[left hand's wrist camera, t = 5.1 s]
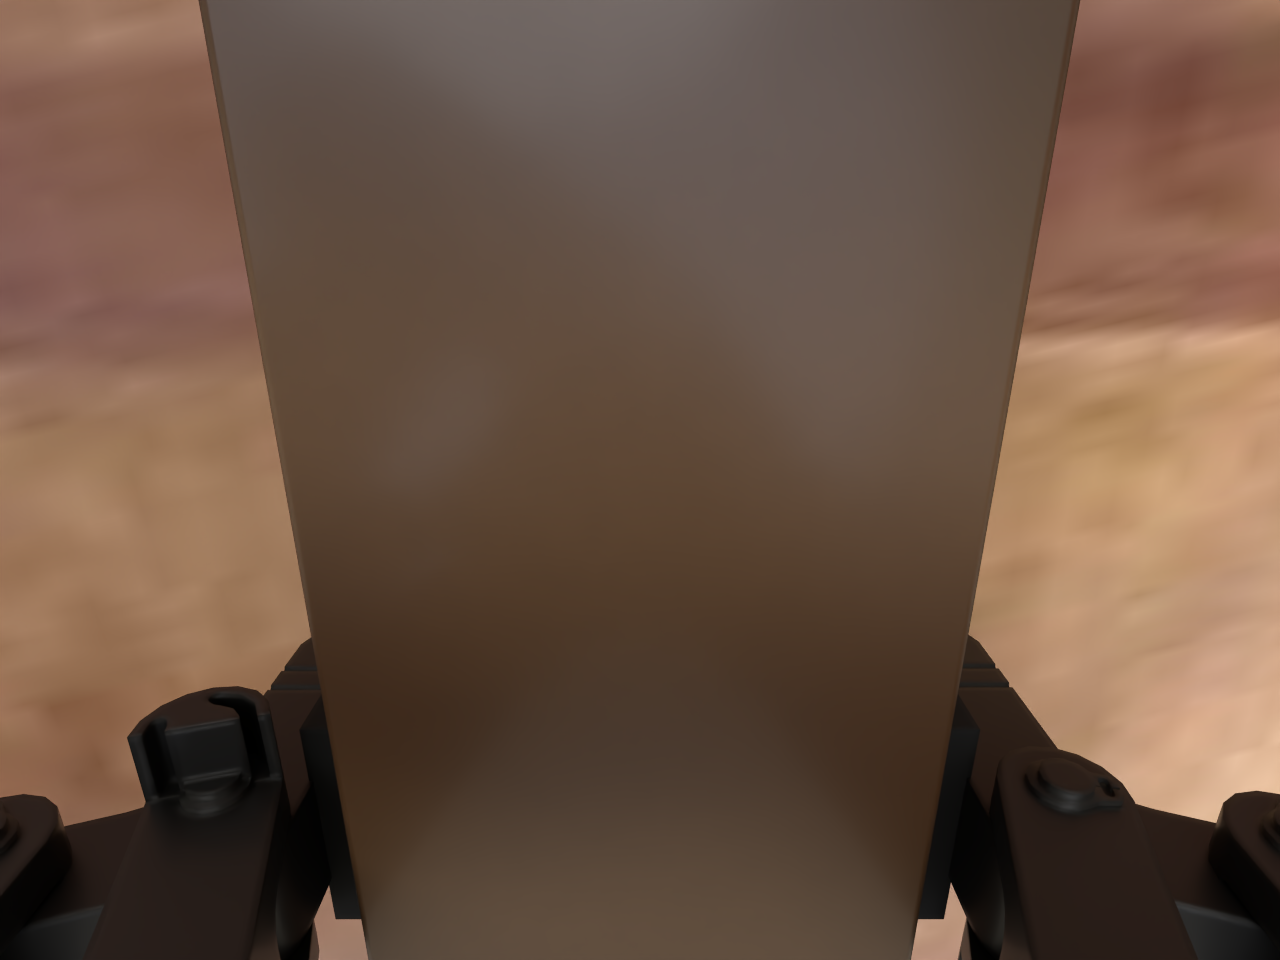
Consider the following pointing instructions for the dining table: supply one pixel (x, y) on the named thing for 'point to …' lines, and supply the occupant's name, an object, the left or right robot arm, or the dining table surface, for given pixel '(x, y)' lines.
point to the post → (639, 441)
